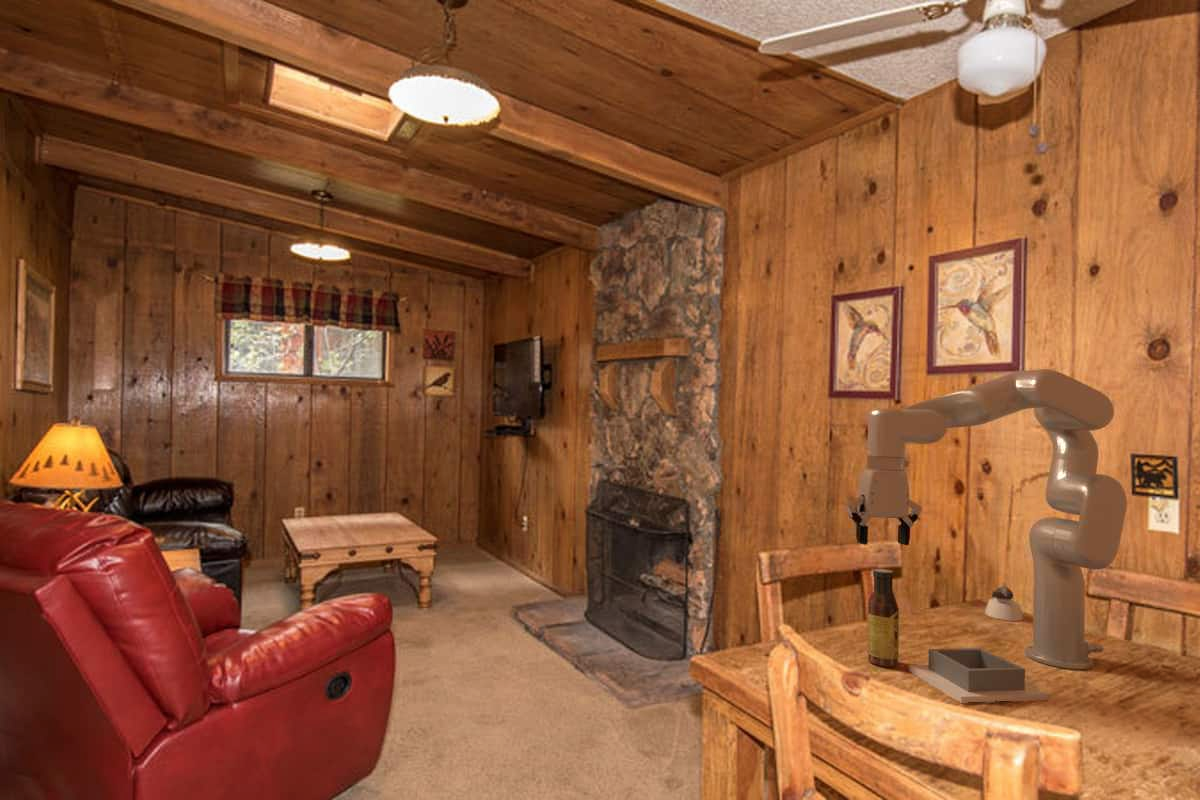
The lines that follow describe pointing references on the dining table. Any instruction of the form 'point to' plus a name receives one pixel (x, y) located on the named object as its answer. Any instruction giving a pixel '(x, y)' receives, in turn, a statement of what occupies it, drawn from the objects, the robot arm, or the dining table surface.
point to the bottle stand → (976, 676)
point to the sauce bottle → (883, 621)
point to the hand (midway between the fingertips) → (882, 543)
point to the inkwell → (1004, 606)
